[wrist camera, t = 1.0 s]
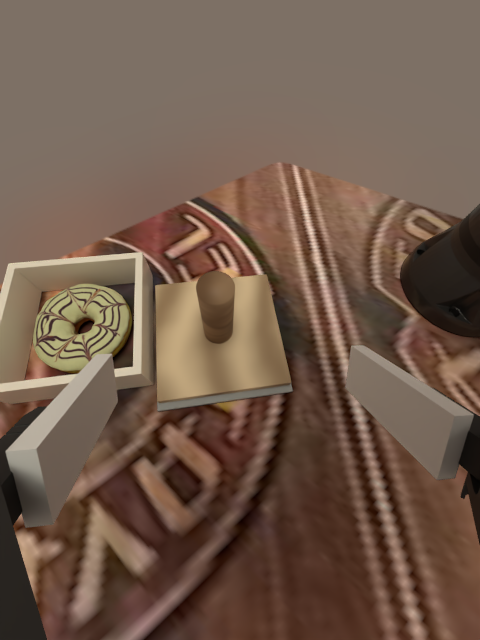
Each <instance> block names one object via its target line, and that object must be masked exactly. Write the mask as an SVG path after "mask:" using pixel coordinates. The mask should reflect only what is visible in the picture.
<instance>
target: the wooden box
mask: <svg viewBox="0 0 480 640" xmlns="http://www.w3.org/2000/svg"><path fill="white" fill-rule="evenodd" d="M128 283H135V304H134V346H133V367H127V368H119V369H114V373H115V381H116V390H119V389H127V388H134V387H142V386H149V385H154V348H153V276H152V273H151V271H150V269H149V266H148V264H147V262H146V259H145V257H144V255H143V252H140V253H128V254H116V255H104V256H92V257H80V258H68V259H57V260H45V261H33V262H21V263H9V264H8V268H7V272H6V275H5V279H4V282H3V286H2V290H1V293H0V402H4V403H9V404H16V403H24V402H31V401H38V400H46V399H53V398H56V397H57V396H58V395H59V394H60V393H61V391H62V390H63V389H64V388H65V387H66V386H67V385H68V384H69V383H70V382H71V381H72V380H73V379H74V378H75V377H76V375H77V374H72V375H64V376H57V377H49V378H41V379H33V380H25V375H26V370H27V365H28V359H29V354H30V349H31V344H32V339H33V334H34V328H35V322H36V317H37V314H38V309H39V304H40V299H41V294H42V292H45V291H55V290H65V289H67V288H69V287H73V286H76V285H79V284H95V285H98V286H107V285H118V284H128ZM24 380H25V381H24Z"/></svg>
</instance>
